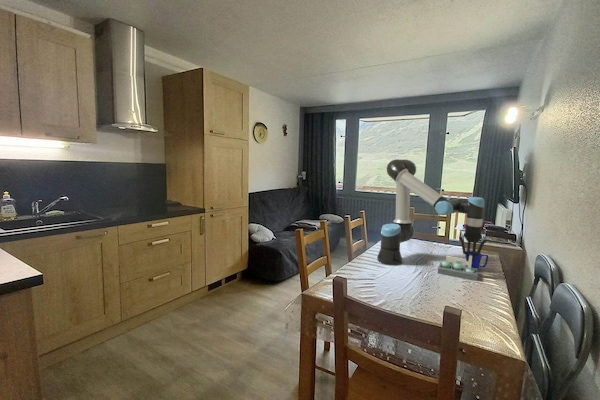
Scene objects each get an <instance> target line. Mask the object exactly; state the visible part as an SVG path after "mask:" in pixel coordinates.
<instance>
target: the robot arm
mask: <svg viewBox="0 0 600 400" xmlns="http://www.w3.org/2000/svg"><path fill="white" fill-rule="evenodd" d="M416 173H417V166H416V163H414V161H412V160H410V159H399V158H398V159H392V160H391V161H390V162H388V163H387V166H386V174H387V175H388V176H389V177H390V178H391V179H392V180H393V181H394V182H395V183H396V184H395V218H394V220H392V223H386V224H383V225H382V226H381V230H380V248H379V252H378V254H377V258H376V260H377V262H379V263H380V262H381V264H383V263H384V264H383V265H390V266H398V265H401V264H403V257H402V254H401V244H402V243H405V242H408V241H410V240H411V239H413V238H414V236H415V227H414V226H413V222H412V221H411V219H410V212H411V211H410V210H411V209H410V208H411V207H410V206H411V205H410V204H411V192H412V193H414V194H416V196H418V197H420V198H421V199H422V200H423V201H424V202H426V203H428V204H429V205H430V206H431V207H433V208H434V209H435V211H436V213H437V214H438V215H440V216H448V215H452V214H455V213H459V214H466V219H465V220H466V221H465V224H466V225H465V230H464V231H465V232H464V233H463V234H462V235H459V237H458V239H459V241H460V242H461V249H462V253H463V254H462V255H465V254H466V255H467V257H466V261H468V268H471V263H472V262H474V258H475V256H479V254H480V253H481V252H482V250H483V246H484V244H486V242H487V239H486V238H484V237H483V236H482V231H483V230H482V229H483V227H482V226H483V221H484V213H485V212H484V211H485V199H484V198H483V197H479V196H478V197H477V196H469V197H468V199H459V198H454V197H453V198H452V197H451V198H450V197H448V198H446V197H445V196H443V195H442V194H440V193H439V192H437V191H436V190H434V189H433V188H432V187H430V186H429V185H428V184H426V183H425V182H424V181H422V180H420V179H419V178H417V177H416V176H415V175H416ZM464 239H466V241H467V248H466V247H465V240H464ZM479 241H480V243H479V245H478V249H477V251H476V248H477V247H476V245H477V243H478V242H479ZM471 243H473V245H472V251H473V252H472V255H469V253H470V251H471ZM466 251H467V252H466ZM475 252H477V253H475Z"/></svg>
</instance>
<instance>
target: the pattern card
mask: <svg viewBox="0 0 600 400" xmlns="http://www.w3.org/2000/svg"><path fill="white" fill-rule="evenodd" d="M445 261H448V262H450V264H453V265H454V263H460V264H462V266H465V267H468V261H466V259H465V258H463V257H462V258H461V257H455V256H449V255H446V258H445ZM471 264H472V263H471Z"/></svg>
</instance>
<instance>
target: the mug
mask: <svg viewBox="0 0 600 400" xmlns="http://www.w3.org/2000/svg"><path fill="white" fill-rule="evenodd" d="M466 252H467V250H466ZM472 252H473V250H470V253H469V255H472ZM475 253H477V251H475ZM464 255H465V257H464V259H466V257H467V255H466V254H464ZM482 257H486V259H485V262H484V264H483V265H481V260H482ZM488 260H489V255H487V254H484V253H483V254H482V253H481V252H480V254H479V256H475V258H474V262H472V264H471V268H477V271H479V269H480V268H485V267H486V266H487V264H488Z"/></svg>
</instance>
